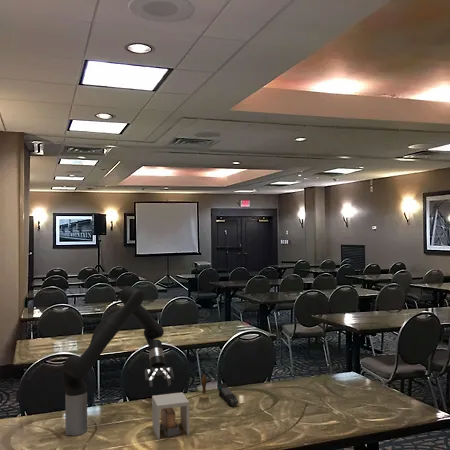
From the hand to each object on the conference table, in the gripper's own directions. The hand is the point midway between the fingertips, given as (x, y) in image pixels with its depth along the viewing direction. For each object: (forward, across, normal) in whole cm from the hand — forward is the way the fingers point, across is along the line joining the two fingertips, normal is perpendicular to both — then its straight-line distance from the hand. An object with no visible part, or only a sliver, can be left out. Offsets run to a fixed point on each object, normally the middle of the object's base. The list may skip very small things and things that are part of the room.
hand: (160, 387), depth 236 cm
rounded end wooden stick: (+22, 0, -4) cm, 22 cm away
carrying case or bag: (-3, +10, +20) cm, 23 cm away
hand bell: (+8, +22, +10) cm, 25 cm away
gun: (+5, +36, +12) cm, 38 cm away
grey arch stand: (+25, 0, -8) cm, 27 cm away
